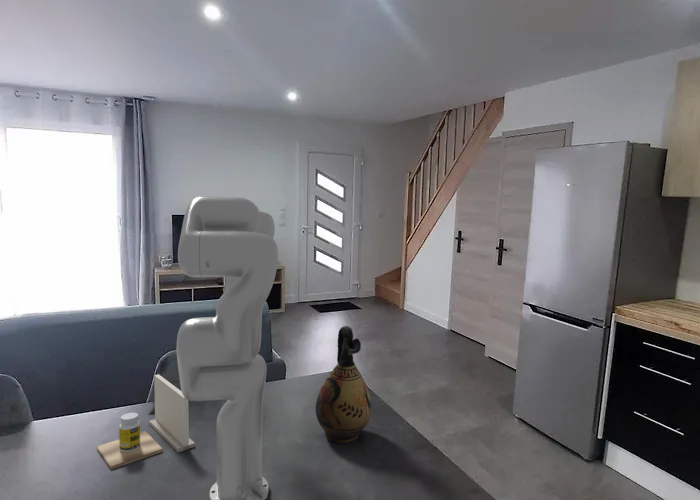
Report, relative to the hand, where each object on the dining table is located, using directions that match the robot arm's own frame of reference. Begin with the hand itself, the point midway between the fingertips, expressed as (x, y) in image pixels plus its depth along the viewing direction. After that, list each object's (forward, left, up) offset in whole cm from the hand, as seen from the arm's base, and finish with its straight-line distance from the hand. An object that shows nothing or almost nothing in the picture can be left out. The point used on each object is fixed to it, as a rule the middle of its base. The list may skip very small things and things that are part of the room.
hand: (239, 321), depth 127 cm
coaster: (+6, +28, -30) cm, 42 cm away
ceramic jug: (-23, -19, -31) cm, 43 cm away
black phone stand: (+25, +12, -31) cm, 42 cm away
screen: (+7, +17, -30) cm, 35 cm away
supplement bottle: (+6, +28, -30) cm, 41 cm away
